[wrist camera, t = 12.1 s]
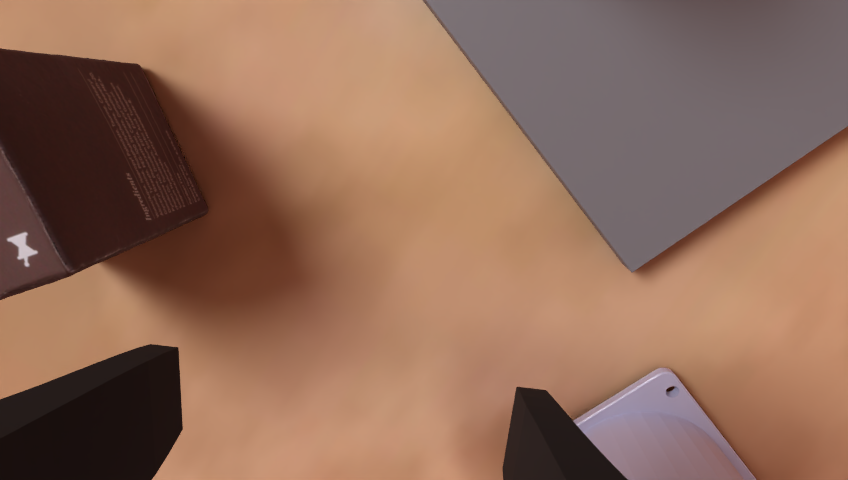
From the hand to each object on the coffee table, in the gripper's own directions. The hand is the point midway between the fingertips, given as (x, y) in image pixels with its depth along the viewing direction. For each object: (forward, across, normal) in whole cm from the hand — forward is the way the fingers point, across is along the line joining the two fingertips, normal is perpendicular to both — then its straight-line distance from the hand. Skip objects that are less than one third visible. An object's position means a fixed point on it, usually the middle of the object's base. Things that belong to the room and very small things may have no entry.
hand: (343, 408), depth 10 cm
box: (+10, +11, -3) cm, 15 cm away
